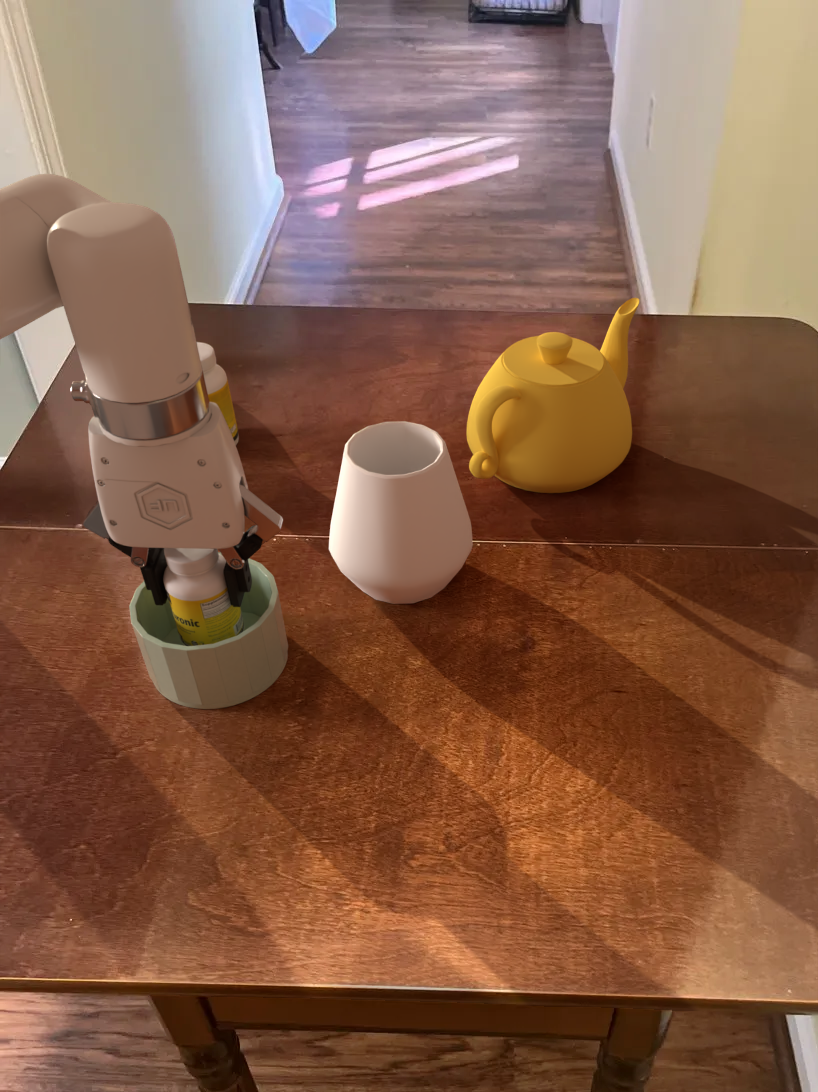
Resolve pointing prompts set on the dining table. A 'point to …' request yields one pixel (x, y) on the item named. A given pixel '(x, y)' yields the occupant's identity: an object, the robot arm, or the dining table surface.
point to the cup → (399, 513)
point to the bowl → (214, 649)
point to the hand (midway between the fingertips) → (202, 593)
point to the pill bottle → (218, 386)
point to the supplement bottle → (200, 596)
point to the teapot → (554, 411)
